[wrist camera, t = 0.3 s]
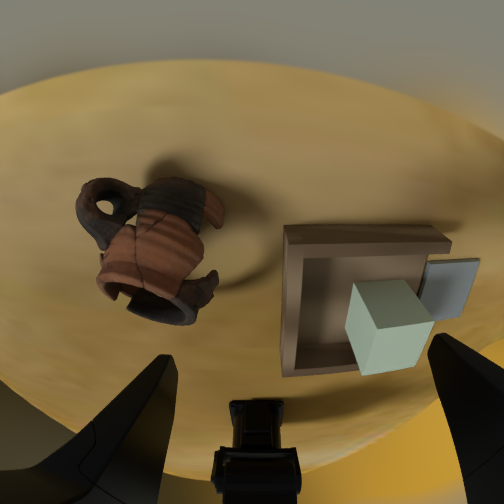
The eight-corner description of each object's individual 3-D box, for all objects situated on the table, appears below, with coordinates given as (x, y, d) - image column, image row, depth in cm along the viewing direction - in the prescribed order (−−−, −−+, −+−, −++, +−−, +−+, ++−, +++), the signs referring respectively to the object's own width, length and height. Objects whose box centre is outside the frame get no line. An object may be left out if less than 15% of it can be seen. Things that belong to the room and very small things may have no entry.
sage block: (391, 322, 25) (414, 366, 20) (344, 327, 25) (361, 375, 20) (403, 279, 23) (434, 321, 17) (353, 282, 23) (377, 329, 18)
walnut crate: (398, 339, 27) (410, 361, 24) (279, 350, 27) (282, 377, 24) (431, 225, 21) (452, 241, 18) (283, 225, 21) (288, 244, 18)
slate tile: (457, 313, 25) (459, 316, 25) (409, 321, 26) (411, 324, 25) (476, 258, 22) (479, 261, 22) (427, 261, 22) (430, 264, 22)
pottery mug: (261, 224, 22) (239, 327, 17) (189, 256, 28) (162, 334, 23) (135, 116, 15) (58, 213, 11) (88, 183, 21) (39, 263, 17)
